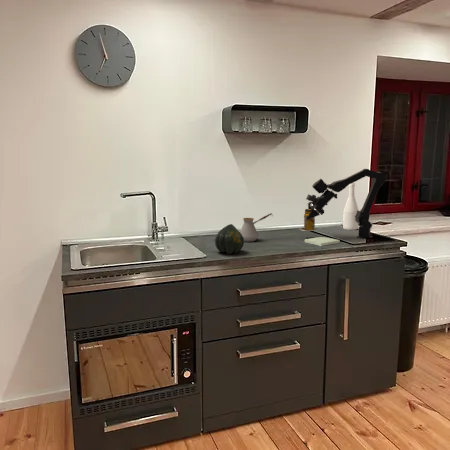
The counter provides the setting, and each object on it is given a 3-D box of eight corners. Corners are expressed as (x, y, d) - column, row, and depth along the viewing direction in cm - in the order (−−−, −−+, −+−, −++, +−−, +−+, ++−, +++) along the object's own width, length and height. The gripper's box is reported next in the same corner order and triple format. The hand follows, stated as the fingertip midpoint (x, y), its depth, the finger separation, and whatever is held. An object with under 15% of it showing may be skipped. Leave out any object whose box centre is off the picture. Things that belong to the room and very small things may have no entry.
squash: (216, 246, 214) (234, 221, 216) (205, 242, 228) (222, 219, 230) (237, 262, 219) (254, 238, 222) (225, 257, 233) (241, 235, 235)
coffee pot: (243, 243, 247) (243, 216, 245) (235, 239, 258) (235, 214, 255) (277, 239, 255) (277, 214, 252) (268, 236, 265) (268, 211, 263)
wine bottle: (343, 230, 283) (345, 183, 278) (342, 227, 292) (343, 182, 287) (359, 230, 281) (360, 183, 276) (357, 227, 290) (358, 182, 286)
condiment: (316, 230, 253) (317, 209, 251) (302, 231, 252) (302, 210, 250) (312, 228, 260) (312, 208, 258) (298, 229, 259) (298, 208, 257)
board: (322, 239, 255) (322, 236, 254) (339, 242, 244) (339, 240, 243) (304, 242, 247) (304, 239, 247) (321, 246, 236) (321, 243, 236)
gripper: (311, 188, 262) (292, 207, 263) (318, 190, 243) (298, 211, 245) (324, 200, 263) (305, 219, 265) (332, 204, 245) (312, 224, 246)
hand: (305, 218), depth 255 cm, fingers closed on condiment, 6 cm apart
